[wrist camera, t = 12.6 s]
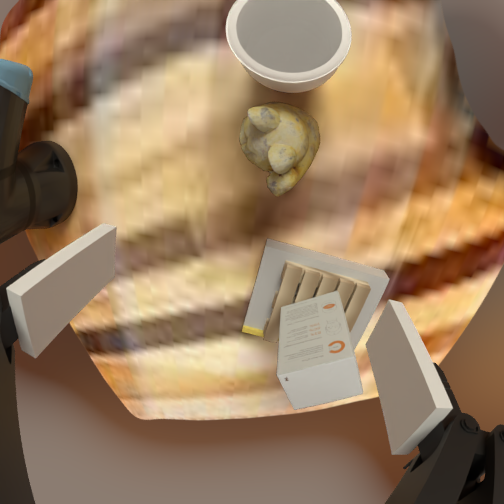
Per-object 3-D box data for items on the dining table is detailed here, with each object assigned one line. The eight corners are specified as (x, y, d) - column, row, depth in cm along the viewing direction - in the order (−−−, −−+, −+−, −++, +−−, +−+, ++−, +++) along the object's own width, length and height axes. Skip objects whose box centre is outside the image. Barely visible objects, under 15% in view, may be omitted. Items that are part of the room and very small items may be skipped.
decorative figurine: (240, 120, 37) (213, 115, 24) (297, 91, 35) (302, 69, 21) (275, 184, 40) (267, 214, 26) (331, 157, 38) (355, 173, 24)
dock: (245, 318, 49) (241, 331, 45) (267, 238, 43) (265, 247, 40) (349, 342, 48) (352, 356, 45) (383, 270, 43) (390, 281, 40)
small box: (294, 341, 43) (292, 411, 31) (279, 305, 41) (274, 375, 29) (349, 326, 41) (364, 394, 29) (338, 288, 39) (355, 355, 27)
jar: (234, 80, 35) (204, 54, 22) (268, 17, 31) (257, -35, 18) (309, 114, 36) (321, 105, 22) (343, 50, 32) (371, 11, 18)
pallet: (263, 329, 46) (261, 339, 43) (285, 258, 41) (285, 266, 38) (337, 346, 45) (339, 356, 43) (368, 280, 41) (372, 289, 38)
